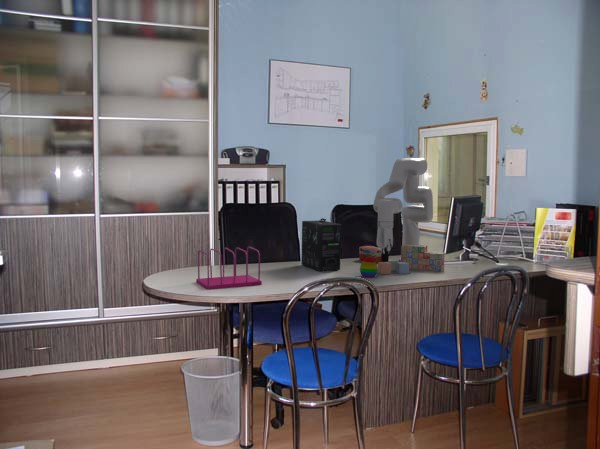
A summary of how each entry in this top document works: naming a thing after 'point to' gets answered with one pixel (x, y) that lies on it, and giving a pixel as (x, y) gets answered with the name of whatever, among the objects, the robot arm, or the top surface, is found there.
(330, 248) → the headset box
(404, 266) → the slate-blue cube
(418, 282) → the top surface
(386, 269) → the terracotta cube
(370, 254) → the medicine box
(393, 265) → the sage cube
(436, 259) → the stack of blocks
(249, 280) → the file sorter
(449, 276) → the top surface
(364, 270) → the decorative egg
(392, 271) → the charcoal mat
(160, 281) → the top surface
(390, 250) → the robot arm
